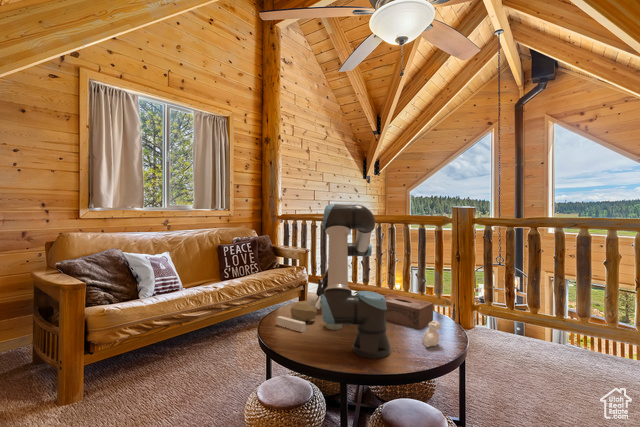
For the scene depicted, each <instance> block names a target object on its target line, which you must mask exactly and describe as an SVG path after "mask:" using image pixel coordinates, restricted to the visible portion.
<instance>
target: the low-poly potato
mask: <svg viewBox="0 0 640 427" xmlns="http://www.w3.org/2000/svg"><path fill="white" fill-rule="evenodd" d="M317 311H318V310H317V308H316V307H314V306H312V305H309V304H307V302H304V301H301V300H300V301H294V302H293V303H292V304H291V307H290V315H291V317H290V318H291V319H294V320H298V321H302V322H308V321H311V320H314V319H316V316H317V315H318V312H317Z"/></svg>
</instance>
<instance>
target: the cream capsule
mask: <svg viewBox="0 0 640 427" xmlns="http://www.w3.org/2000/svg"><path fill="white" fill-rule="evenodd" d="M306 297H307V298H306V301H307V302H306V304H309V305H312V306H314V307H315V305H316V303H317V301H316V300H317V298H318V296H317V294H316V292H308V293H307V295H306ZM315 308H316V307H315Z"/></svg>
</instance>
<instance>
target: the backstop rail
mask: <svg viewBox="0 0 640 427" xmlns="http://www.w3.org/2000/svg"><path fill="white" fill-rule="evenodd" d="M306 322H307V321H305V322H302V321H298V320H294V319H292V318H291V317H290V318H289V317H285V316H283V315H282V316H281V315H279V316H277V317H276V326H277V325H279V326H278V327H281V326H282V328H285V327H286V329H288V328H289V330H293V331H297V332H300V333H305V332H306V325H307V324H306Z"/></svg>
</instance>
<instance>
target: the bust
mask: <svg viewBox="0 0 640 427" xmlns="http://www.w3.org/2000/svg"><path fill="white" fill-rule="evenodd" d="M441 325H442V324H441V323H440V322H439V321H437V320H434V319H433V321H432V322H430V323H429V324H428V325H427V326H428V328H426V331H425V332H424V333H423V336H422V339H421V341H422V343H423V345H424V346H425V347H426V348H430V347H436V346H437V345H438V344H439V342H440V333H439V332H438V330H441V328H442V327H441Z"/></svg>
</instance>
